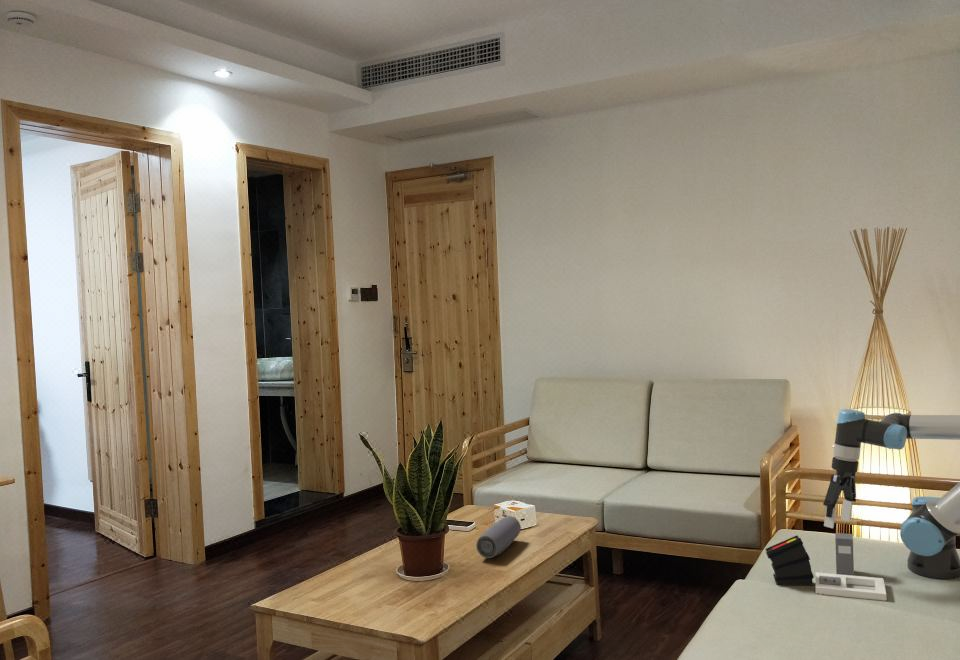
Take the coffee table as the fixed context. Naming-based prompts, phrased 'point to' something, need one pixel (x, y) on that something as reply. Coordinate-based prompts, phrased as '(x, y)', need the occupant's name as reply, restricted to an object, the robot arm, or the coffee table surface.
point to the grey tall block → (844, 554)
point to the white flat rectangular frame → (837, 587)
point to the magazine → (790, 562)
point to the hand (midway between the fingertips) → (837, 523)
